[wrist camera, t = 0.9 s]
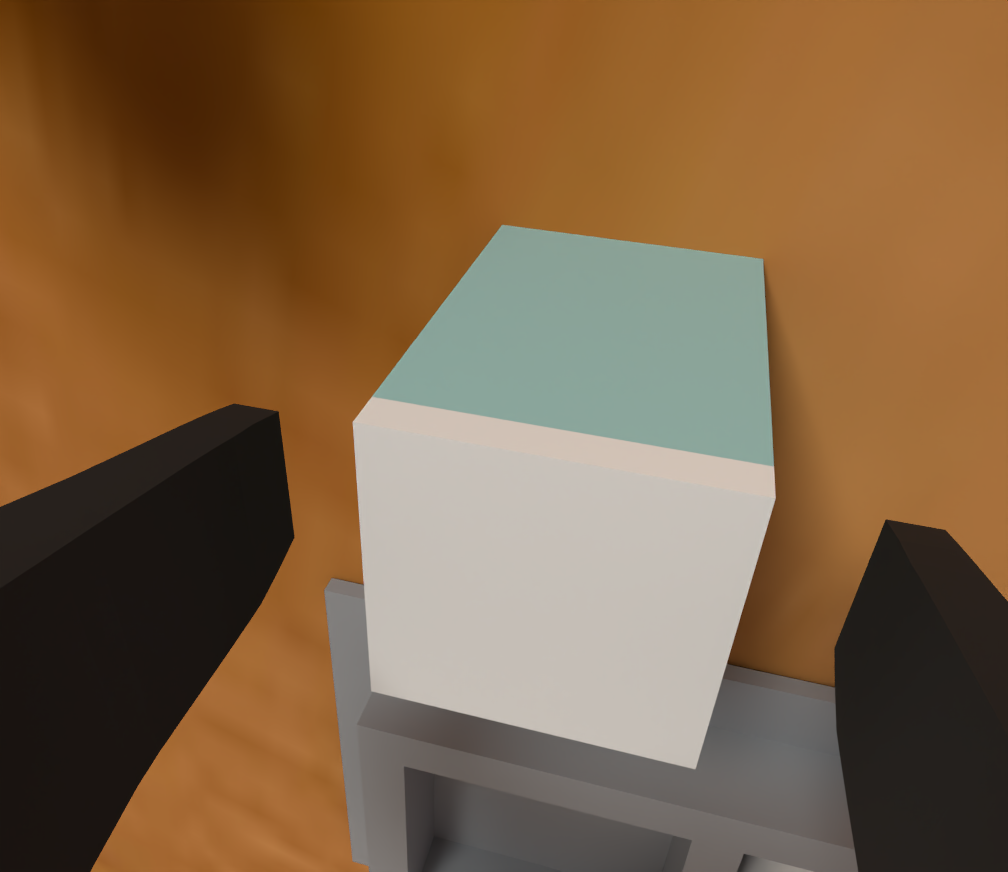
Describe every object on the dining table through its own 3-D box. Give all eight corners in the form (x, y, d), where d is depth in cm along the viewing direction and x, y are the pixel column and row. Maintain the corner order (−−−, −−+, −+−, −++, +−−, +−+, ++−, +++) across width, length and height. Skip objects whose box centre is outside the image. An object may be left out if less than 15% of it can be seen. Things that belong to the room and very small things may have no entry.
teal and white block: (762, 258, 12) (775, 498, 7) (712, 475, 14) (695, 769, 9) (502, 224, 13) (352, 421, 8) (492, 435, 15) (370, 690, 10)
